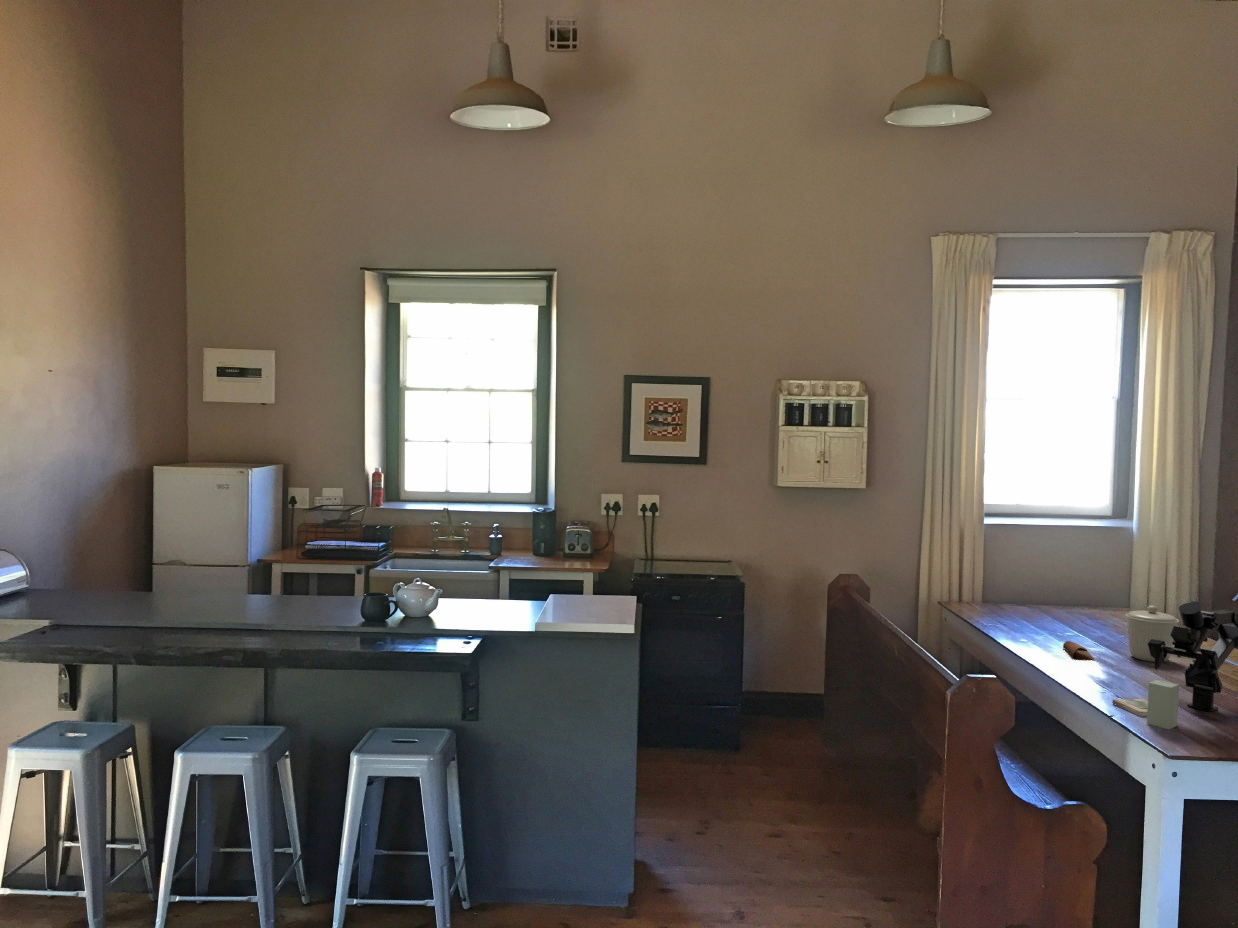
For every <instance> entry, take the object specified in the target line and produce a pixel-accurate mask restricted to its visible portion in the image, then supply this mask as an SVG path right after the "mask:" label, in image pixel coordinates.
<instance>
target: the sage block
mask: <svg viewBox="0 0 1238 928" xmlns="http://www.w3.org/2000/svg"><path fill="white" fill-rule="evenodd" d="M1147 694H1148V695H1147V700H1148V711H1147V716H1146V724H1147V725H1149V726H1154V727H1157V728H1162V729H1166V730H1170V729H1173V728H1175V727H1177V726H1178V717H1179V715H1178V714H1179V702H1180V701H1179V700H1180V699H1179V698H1180V697H1179V696H1180V684H1178V683H1175V682H1169V681H1165V680H1161V679H1156V680H1152V681H1150V682H1148V693H1147Z"/></svg>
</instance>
